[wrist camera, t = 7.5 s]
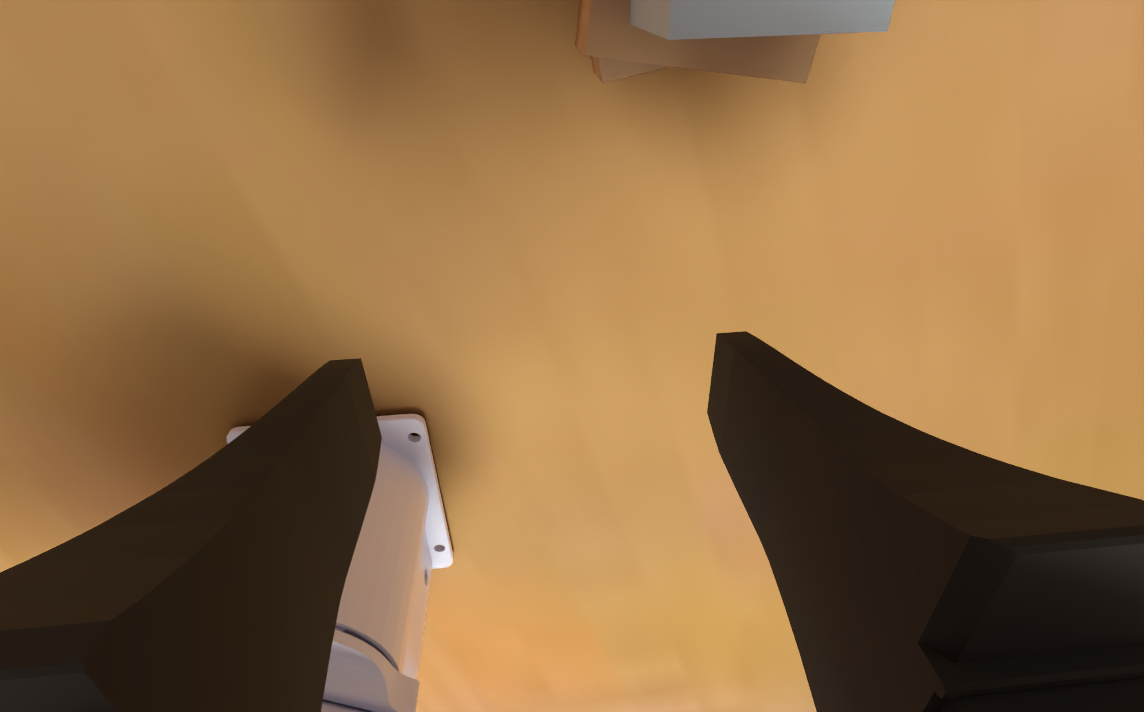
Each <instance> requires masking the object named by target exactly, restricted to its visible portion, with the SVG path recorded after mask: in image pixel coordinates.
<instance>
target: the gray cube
mask: <svg viewBox="0 0 1144 712" xmlns="http://www.w3.org/2000/svg"><path fill="white" fill-rule="evenodd" d="M894 1H895V0H631V5H630V25H633V26H635V27H638V28H640V29H643V30H645V31H648V32H650V33H652V34H655V35H657V36H660V37H662V38H665V39H667V40H680V39H705V38H730V37H756V36H781V35H806V34H832V33H857V32H883V31H888V27H889V23H890V19H891V14H892V10H893V6H894Z"/></svg>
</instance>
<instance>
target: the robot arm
mask: <svg viewBox="0 0 1144 712" xmlns="http://www.w3.org/2000/svg"><path fill="white" fill-rule="evenodd" d="M707 413H708V417H709V420H710V424H711V427H712V430H713V434H714V437H715V440H716V443H717V446H718V450H719V453H720V455H721V457H722V459H723V462H724V464H725V466H726V468H727V470H728V473H729V475H730V477H731V479H732V481H733V483H734V486H735V488H736V490H737V492H738V494H739V496H740V498H741V500H742V502H743V505H744V507H745V509H746V511H747V513H748V515H749V517H750V519H751V521H752V524H753V526H754V528H755V530H756V532H757V534H758V536H759V538H760V541H761V543H762V545H763V548H764V550H765V552H766V555H767V557H768V560H769V562H770V565H771V568H772V571H773V574H774V577H775V580H776V582H777V585H778V588H779V591H780V594H781V597H782V600H783V603H784V606H785V609H786V612H787V615H788V618H789V621H790V624H791V628H792V631H793V634H794V637H795V640H796V643H797V646H798V649H799V653H800V656H801V659H802V663H803V666H804V669H805V673H806V676H807V680H808V683H809V687H810V690H811V693H812V697H813V700H814V704H815V707H816V710H817V712H1144V501H1143V500H1141V499H1137V498H1133V497H1129V496H1125V495H1121V494H1117V493H1113V492H1109V491H1105V490H1101V489H1097V488H1093V487H1089V486H1085V485H1081V484H1077V483H1073V482H1069V481H1065V480H1061V479H1057V478H1054V477H1050V476H1047V475H1044V474H1040V473H1037V472H1034V471H1030V470H1027V469H1024V468H1021V467H1017V466H1014V465H1011V464H1008V463H1005V462H1002V461H999V460H996V459H993V458H990V457H987V456H984V455H981V454H978V453H976V452H973V451H970V450H968V449H965V448H962V447H960V446H957V445H955V444H952V443H949V442H947V441H944V440H941V439H939V438H937V437H934V436H932V435H929V434H927V433H925V432H922V431H920V430H918V429H915V428H913V427H911V426H909V425H907V424H905V423H903V422H900V421H898V420H896V419H894V418H892V417H890V416H887V415H885V414H883V413H881V412H879V411H877V410H875V409H873V408H871V407H870V406H868V405H866V404H864V403H862V402H860V401H859V400H857V399H855V398H853V397H851V396H850V395H848V394H846V393H844V392H842V391H841V390H839V389H837V388H836V387H834V386H832V385H831V384H829V383H827V382H825V381H824V380H822V379H821V378H819V377H817V376H816V375H814V374H813V373H811V372H809V371H808V370H806V369H805V368H803V367H802V366H800V365H798V364H797V363H795V362H794V361H792V360H791V359H789V358H788V357H786V356H785V355H783V354H782V353H780V352H779V351H777V350H775V349H774V348H772V347H771V346H769V345H768V344H766V343H765V342H763V341H762V340H760V339H758V338H757V337H755V336H753V335H752V334H750V333H748V332H731V333H717V336H716V344H715V353H714V361H713V369H712V377H711V386H710V394H709V402H708V411H707ZM410 433H418V434H419V435H420V436H413V435H411V434H410ZM226 440H227V443H228V444H227V445H226V446H225V447H223V448H222V449H221V450H220V451H218V452H217V453H215V454H214V455H213V456H211V457H210V458H209V459H207V460H206V461H204V462H203V463H201V464H200V465H198V466H197V467H196V468H194V469H193V470H191V471H190V472H188V473H186V474H185V475H183V476H182V477H180V478H179V479H177V480H176V481H174V482H173V483H171V484H169V485H168V486H166V487H165V488H163V489H161V490H160V491H158V492H157V493H155V494H153V495H151V496H150V497H148V498H146V499H144V500H143V501H141V502H139V503H137V504H136V505H134V506H132V507H130V508H128V509H127V510H125V511H123V512H121V513H120V514H118V515H116V516H114V517H113V518H111V519H109V520H107V521H106V522H104V523H102V524H100V525H98V526H96V527H94V528H93V529H91V530H89V531H87V532H85V533H83V534H81V535H79V536H77V537H75V538H73V539H71V540H69V541H67V542H65V543H63V544H61V545H59V546H57V547H55V548H52V549H50V550H48V551H46V552H44V553H42V554H40V555H38V556H36V557H33V558H31V559H29V560H27V561H25V562H23V563H21V564H18V565H16V566H14V567H12V568H9V569H7V570H5V571H3V572H1V573H0V712H415V711H416V704H417V696H418V688H419V681H418V680H417V677H418V671H419V664H420V656H421V649H422V641H423V634H424V627H425V619H426V612H427V604H428V597H429V589H430V582H431V574H432V569H435V568H445V567H448V566H450V565H451V564H452V563H453V551H452V546H451V541H450V537H449V532H448V527H447V522H446V517H445V513H444V508H443V503H442V498H441V494H440V489H439V484H438V479H437V474H436V470H435V465H434V460H433V455H432V451H431V446H430V441H429V436H428V431H427V427H426V422H425V420H424V418H423V417H421V416H420V415H417V414H400V415H387V416H376V413H375V410H374V406H373V402H372V398H371V395H370V391H369V387H368V383H367V379H366V376H365V372H364V368H363V364H362V361H361V358H360V359H345V360H331V361H329V362H327V363H326V364H325V365H323V366H322V367H321V368H319V369H318V370H317V371H316V372H315V373H313V374H312V375H311V376H310V377H309V378H308V379H306V380H305V381H304V382H303V383H302V384H301V385H299V386H298V387H297V388H296V389H295V390H294V391H293V392H291V393H290V394H289V395H288V396H287V397H286V398H284V399H283V400H282V401H281V402H280V403H278V404H277V405H276V406H275V407H274V408H273V409H271V410H270V411H269V412H268V413H267V414H266V415H264V416H263V417H262V418H261V419H260V420H258V421H257V422H256V423H254V424H253V425H252V426H241V427H235V428H233V429H231V430H230V432H229V433H228V435H227V437H226Z"/></svg>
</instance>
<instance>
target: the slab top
mask: <svg viewBox="0 0 1144 712" xmlns="http://www.w3.org/2000/svg"><path fill="white" fill-rule="evenodd" d="M630 5H631V0H580V5H579V14H578V23H577V33H576V42H575V46H576V47H577V48H578V49H579V50H580V51H581V52H582V53H583V54H584V55H585V56H592V57H600V58H608V59H616V60H624V61H632V62H640V63H648V64H656V65H664V66H672V67H680V68H687V69H695V70H703V71H711V72H719V73H727V74H735V75H743V76H751V77H759V78H767V79H775V80H783V81H791V82H799V83H806V80H807V77H808V73H809V70H810V67H811V63H812V60H813V57H814V53H815V50H816V47H817V44H818V40H819V37H820V34H806V35H781V36H756V37H730V38H705V39H680V40H667V39H665V38H662V37H660V36H657V35H655V34H652V33H650V32H648V31H645V30H643V29H640V28H638V27H635V26H633V25H630Z"/></svg>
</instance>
